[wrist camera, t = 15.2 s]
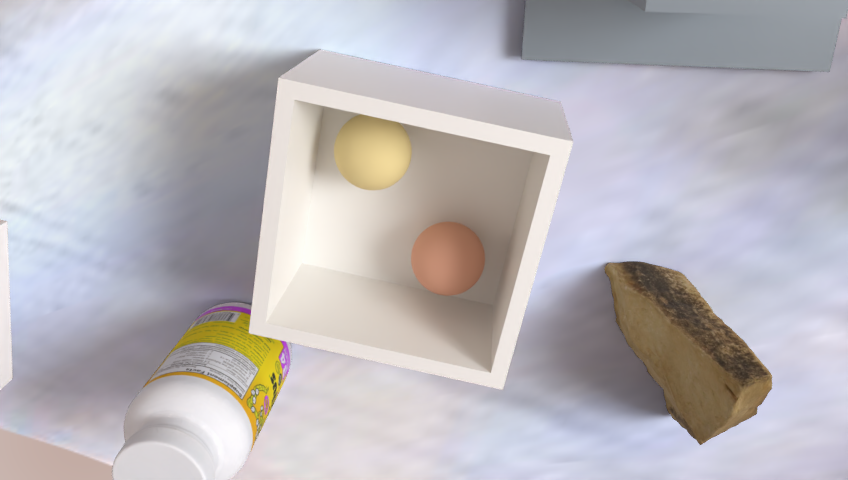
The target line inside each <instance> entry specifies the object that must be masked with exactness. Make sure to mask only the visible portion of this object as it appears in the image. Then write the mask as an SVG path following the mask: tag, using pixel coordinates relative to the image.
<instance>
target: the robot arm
mask: <svg viewBox="0 0 848 480" xmlns="http://www.w3.org/2000/svg"><path fill="white" fill-rule="evenodd" d="M12 379H13V374H12V345H11V316H10V287H9V257H8V228H7V221H4V220H0V390H1V389H2V388H3V387H4V386H5V385H6V384H8V383H9V382H10V381H11V380H12Z"/></svg>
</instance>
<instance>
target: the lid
mask: <svg viewBox="0 0 848 480" xmlns="http://www.w3.org/2000/svg"><path fill="white" fill-rule="evenodd" d="M847 12H848V0H525V13H524V27H523V41H522V55H521V58H522V60H543V61H568V62H593V63H618V64H643V65H669V66H694V67H719V68H744V69H769V70H794V71H820V72H830V68H831V63H832V59H833V54H834V50H835V46H836V41H837V37H838V33H839V28H840V24H841V20H842V18H846V17H847Z"/></svg>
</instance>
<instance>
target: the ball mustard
mask: <svg viewBox="0 0 848 480" xmlns="http://www.w3.org/2000/svg"><path fill="white" fill-rule="evenodd" d="M411 155H412V147H411V142H410V139H409V136H408V134H407V132H406V130H405V129H404V128H403V126H402V125H401V124H400V123H399V122H395V121H390V120H386V119H381V118H376V117H372V116H367V115H363V114H360V115H357V116H355V117H353V118H351V119H350V120H349V121H348V122H346V123H345V124H344V125H343V127H342V128H341V129H340V131H339V133H338V135H337V137H336V140H335V144H334V158H335V162H336V165H337V167H338V169H339V171H340V173H341V174H342V175H343V177H344V178H345V179H346V180H347V181H348V182H350V183H351V184H353V185H354V186H356V187H358V188H361V189H365V190H381V189H385V188H388V187H390V186H392V185H394V184H395V183H396V182H398V181H399V180H400V179H401V178H402V177H403V176H404V174H405V173H406V171H407V169H408V167H409V165H410V161H411Z"/></svg>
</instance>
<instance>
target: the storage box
mask: <svg viewBox="0 0 848 480" xmlns="http://www.w3.org/2000/svg"><path fill="white" fill-rule="evenodd" d="M360 114H363V115H367V116H372V117H376V118H381V119H386V120H390V121H395V122H399V123H400V124H401V125H402V126H403V128H404V129H405V130H406V132H407V134H408V136H409V139H410V142H411V147H412V155H411V161H410V165H409V167H408V169H407V171H406V173H405V174H404V176H403V177H402V178H401V179H400V180H399V181H398V182H396V183H395V184H394V185H392V186H390V187H388V188H385V189H381V190H365V189H361V188H358V187H356V186H354V185H353V184H351V183H350V182H348V181H347V180H346V179H345V178H344V177H343V175H342V174H341V173H340V171H339V169H338V167H337V165H336V162H335V158H334V144H335V140H336V137H337V135H338V133H339V131H340V129H341V128H342V127H343V125H344V124H345V123H346V122H348V121H349V120H350V119H351V118H353V117H355V116H357V115H360ZM572 145H573V139H572V136H571V133H570V129H569V126H568V123H567V120H566V117H565V113H564V110H563V107H562V104H561V101H556V100H551V99H547V98H542V97H538V96H533V95H528V94H524V93H519V92H514V91H510V90H505V89H501V88H496V87H491V86H487V85H482V84H478V83H473V82H468V81H464V80H459V79H454V78H450V77H445V76H441V75H436V74H431V73H427V72H422V71H417V70H413V69H408V68H404V67H399V66H394V65H390V64H385V63H381V62H376V61H371V60H367V59H362V58H357V57H353V56H348V55H344V54H339V53H334V52H330V51H325V50H321V49H320V50H319V51H317V52H316V53H314V54H313V55H311V56H310V57H308V58H307V59H305V60H304V61H302V62H301V63H299V64H298V65H296V66H295V67H294V68H292V69H291V70H289V71H288V72H286V73H285V74H283V75H282V76H280V77H279V78H278V86H277V95H276V103H275V112H274V120H273V129H272V137H271V146H270V155H269V163H268V172H267V180H266V189H265V197H264V206H263V214H262V223H261V232H260V240H259V249H258V257H257V266H256V274H255V283H254V291H253V300H252V308H251V317H250V326H249V333H250V334H254V335H259V336H263V337H268V338H272V339H277V340H281V341H286V342H290V343H295V344H299V345H304V346H308V347H313V348H317V349H322V350H326V351H331V352H335V353H340V354H344V355H349V356H353V357H358V358H362V359H366V360H371V361H375V362H380V363H384V364H389V365H393V366H398V367H402V368H407V369H411V370H416V371H420V372H425V373H429V374H434V375H438V376H443V377H447V378H452V379H456V380H461V381H465V382H470V383H474V384H479V385H483V386H488V387H492V388H497V389H501V390H503V388H504V384H505V381H506V377H507V374H508V370H509V367H510V363H511V359H512V356H513V352H514V349H515V345H516V342H517V338H518V335H519V331H520V328H521V324H522V321H523V317H524V314H525V310H526V307H527V303H528V300H529V296H530V293H531V289H532V286H533V282H534V279H535V275H536V272H537V268H538V264H539V261H540V257H541V254H542V250H543V247H544V243H545V240H546V236H547V233H548V229H549V226H550V222H551V219H552V215H553V212H554V208H555V205H556V201H557V198H558V194H559V191H560V187H561V184H562V180H563V176H564V173H565V169H566V166H567V162H568V159H569V155H570V152H571V148H572ZM440 222H456V223H460V224H462V225H464V226H466V227H468V228H469V229H471V230H472V231H473V232H474V233H475V234H476V235H477V236H478V238H479V239H480V241H481V243H482V245H483V248H484V253H485V265H484V269H483V272H482V274H481V276H480V278H479V280H478V281H477V282H476V283H475V285H474V286H472V287H471V288H470V289H468V290H467V291H465V292H463V293H461V294H457V295H451V296H445V295H439V294H436V293H433V292H431V291H429V290H428V289H426V288H425V287H424V286H423V285H422V284H421V283H420V282H419V281H418V279H417V278H416V276H415V274H414V272H413V269H412V264H411V253H412V248H413V245H414V243H415V241H416V239H417V238H418V236H419V235H420V234H421V233H422V232H423V231H424V230H425V229H427V228H428V227H430V226H432V225H434V224H437V223H440Z"/></svg>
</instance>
